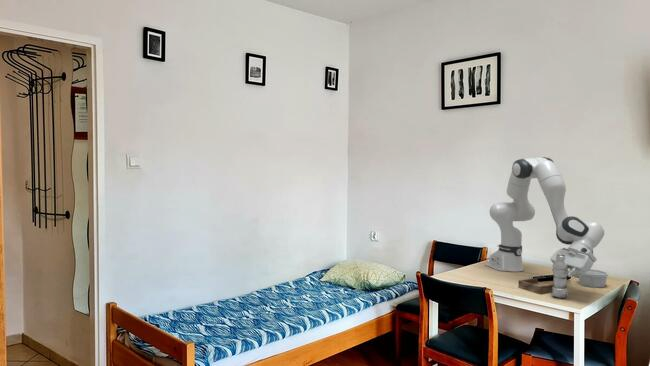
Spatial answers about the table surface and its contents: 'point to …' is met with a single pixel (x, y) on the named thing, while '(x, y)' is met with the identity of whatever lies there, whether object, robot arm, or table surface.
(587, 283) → the ramekin
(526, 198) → the robot arm
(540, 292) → the brown wooden tray
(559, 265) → the plastic bottle
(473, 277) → the table surface
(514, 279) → the table surface
